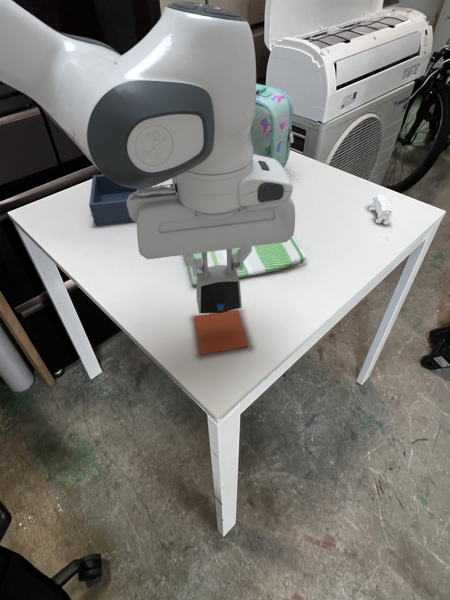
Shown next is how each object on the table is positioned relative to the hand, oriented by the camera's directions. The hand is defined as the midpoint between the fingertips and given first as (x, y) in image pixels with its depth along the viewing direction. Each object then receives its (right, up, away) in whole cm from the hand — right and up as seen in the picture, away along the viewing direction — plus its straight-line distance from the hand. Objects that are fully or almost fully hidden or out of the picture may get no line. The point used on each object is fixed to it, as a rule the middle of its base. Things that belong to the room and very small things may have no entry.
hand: (217, 269), depth 53 cm
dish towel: (+4, +6, +26) cm, 27 cm away
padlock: (0, -5, +5) cm, 7 cm away
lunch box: (+7, +34, +52) cm, 62 cm away
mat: (0, -10, +11) cm, 15 cm away
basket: (-23, +18, +38) cm, 48 cm away
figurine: (+37, +15, +34) cm, 52 cm away
